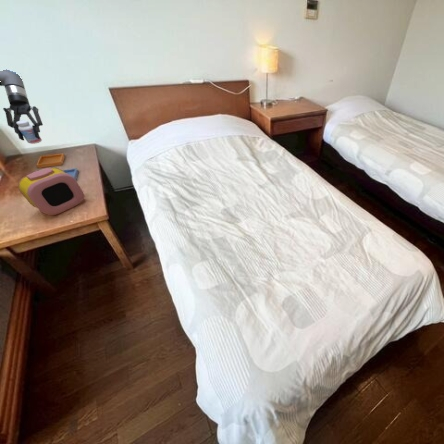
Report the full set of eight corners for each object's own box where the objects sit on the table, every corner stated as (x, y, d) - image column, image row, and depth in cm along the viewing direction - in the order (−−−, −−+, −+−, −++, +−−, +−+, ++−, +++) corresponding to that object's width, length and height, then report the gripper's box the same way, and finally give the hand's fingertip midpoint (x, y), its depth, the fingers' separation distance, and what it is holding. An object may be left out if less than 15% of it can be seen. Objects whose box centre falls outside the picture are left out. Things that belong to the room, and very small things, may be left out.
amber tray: (38, 168, 145) (36, 165, 143) (42, 159, 152) (40, 155, 151) (62, 165, 149) (60, 161, 148) (65, 156, 156) (63, 153, 155)
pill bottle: (33, 145, 136) (19, 124, 128) (25, 142, 137) (11, 122, 129) (45, 140, 140) (32, 121, 133) (37, 138, 141) (24, 118, 134)
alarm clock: (48, 220, 116) (20, 186, 102) (36, 211, 119) (7, 177, 106) (89, 200, 128) (69, 167, 115) (77, 193, 131) (56, 160, 118)
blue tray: (50, 185, 134) (48, 182, 133) (54, 174, 141) (52, 171, 140) (76, 181, 139) (74, 178, 137) (78, 171, 146) (76, 168, 144)
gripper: (44, 99, 140) (55, 139, 141) (-1, 101, 133) (11, 143, 134) (36, 92, 133) (48, 134, 134) (-12, 94, 126) (1, 138, 127)
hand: (29, 138), depth 134 cm, fingers closed on pill bottle, 6 cm apart
